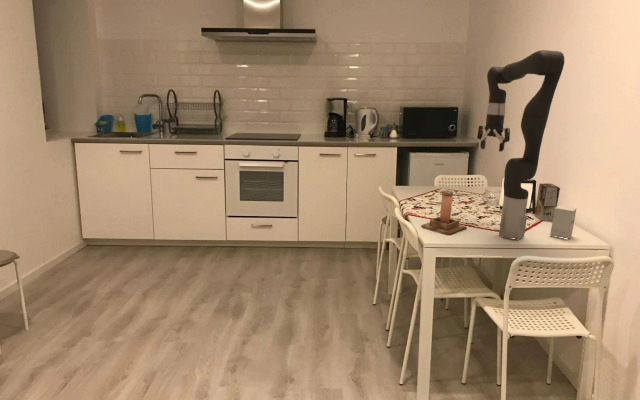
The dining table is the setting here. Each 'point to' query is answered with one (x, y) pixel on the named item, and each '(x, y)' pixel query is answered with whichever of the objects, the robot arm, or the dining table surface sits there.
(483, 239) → the dining table surface
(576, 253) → the dining table surface
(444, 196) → the wooden peg
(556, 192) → the coffee box
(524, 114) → the robot arm
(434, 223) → the walnut socket board
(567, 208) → the supplement box
